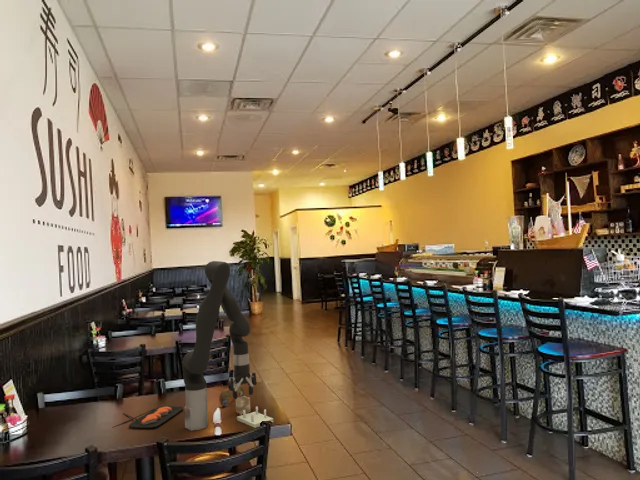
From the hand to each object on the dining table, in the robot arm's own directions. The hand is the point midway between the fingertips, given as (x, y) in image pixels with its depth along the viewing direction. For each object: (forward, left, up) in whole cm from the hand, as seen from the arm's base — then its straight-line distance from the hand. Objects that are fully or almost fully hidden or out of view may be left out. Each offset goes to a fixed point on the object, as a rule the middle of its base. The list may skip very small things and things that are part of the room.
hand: (243, 396), depth 242 cm
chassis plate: (-3, -15, -8) cm, 17 cm away
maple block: (0, 0, -8) cm, 8 cm away
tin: (+3, +16, -8) cm, 18 cm away
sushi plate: (-38, +29, -8) cm, 49 cm away
